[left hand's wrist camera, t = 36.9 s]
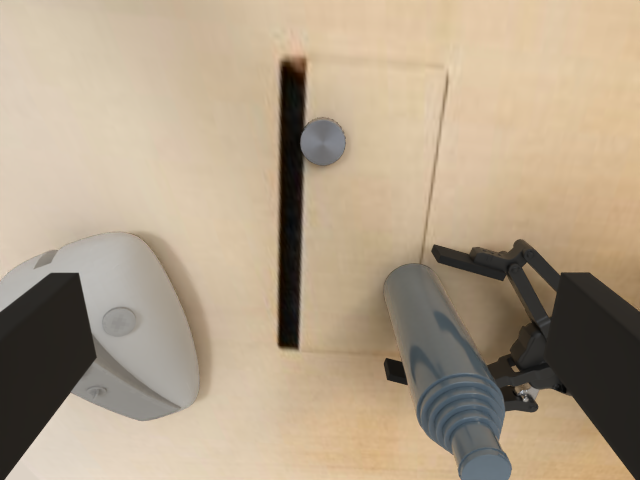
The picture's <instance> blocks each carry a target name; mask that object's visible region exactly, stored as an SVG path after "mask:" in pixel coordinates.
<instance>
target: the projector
mask: <svg viewBox="0 0 640 480" xmlns="http://www.w3.org/2000/svg"><path fill="white" fill-rule="evenodd" d="M50 273H79V276H80V280H81V285H82V290H83V294H84V299H85V304H86V309H87V313H88V318H89V323H90V327H91V332H92V337H93V341H94V346H95V351H96V356H97V358H96V359H95V361H94V362H93V363H92V365H91V366H90V367H89V369H88V370H87V371H86V373H85V374H84V375H83V377H82V378H81V379H80V381H79V382H78V383H77V384H76V386H75V387H74V388H73V390H72V391H71V393H73V394H75V395H77V396H79V397H81V398H83V399H85V400H87V401H89V402H92V403H94V404H96V405H98V406H101V407H103V408H105V409H108V410H110V411H113V412H116V413H118V414H121V415H124V416H126V417H129V418H132V419H136V420H139V421H147V420H152V419H157V418H160V417H164V416H166V415H169V414H172V413H175V412H178V411H181V410H183V409H185V408H187V407H189V406H190V405H192V404H193V403H194V401H195V399H196V397H197V395H198V392H199V386H200V376H199V366H198V359H197V354H196V349H195V345H194V341H193V337H192V333H191V330H190V327H189V324H188V321H187V318H186V316H185V313H184V310H183V308H182V306H181V303H180V301H179V299H178V296H177V294H176V292H175V290H174V288H173V286H172V284H171V282H170V280H169V278H168V276H167V274H166V272H165V270H164V268H163V267H162V265H161V263H160V261H159V260H158V258H157V257H156V255H155V254H154V252H153V251H152V250H151V248H150V247H149V246H148V245H147V244H146V243H145V242H144V241H143V240H142V239H141V238H139V237H137V236H135V235H133V234H130V233H125V232H109V233H104V234H99V235H95V236H91V237H88V238H84V239H81V240H78V241H75V242H72V243H70V244H67V245H65V246H63V247H62V248H60V249H59V250H51V251H48V252H46V253H43V254H40V255H38V256H36V257H33V258H31V259H29V260H27V261H25V262H23V263H21V264H20V265H18V266H17V267H15V268H14V269H12V270H11V271H10V272H8V273H7V274H6V275H5V276H4V277H3V278H2V280H1V281H0V312H1V311H2V310H3V309H5V308H6V307H7V306H9V305H10V304H11V303H12V302H14V301H15V300H16V299H17V298H19V297H20V296H21V295H23V294H24V293H25V292H26V291H28V290H29V289H30V288H32V287H33V286H34V285H35V284H37V283H38V282H39V281H41V280H42V279H43V278H44V277H46V276H47V275H48V274H50Z"/></svg>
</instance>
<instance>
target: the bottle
mask: <svg viewBox="0 0 640 480" xmlns="http://www.w3.org/2000/svg"><path fill="white" fill-rule="evenodd" d="M383 292H384V298H385V301H386V305H387V309H388V312H389V316H390V320H391V323H392V327H393V331H394V335H395V338H396V342H397V346H398V349H399V353H400V357H401V360H402V364H403V368H404V371H405V375H406V379H407V383H408V386H409V390H410V394H411V397H412V401H413V405H414V408H415V412H416V416H417V419H418V422H419V424H420V426H421V427H422V429H423V430H424V431H425V433H426V434H427V435H428V436H429V438H430V439H432V440H433V441H434V442H436V443H437V444H438V445H440V446H441V447H443V448H444V449H445V450H447V451H449V452H450V453H451V454H452V455H454V458H455V461H456V464H457V467H458V474H459V477H460V478H461V480H508V479H509V477H510V475H511V470H512V467H511V463H510V461H509V459H508V457H507V455H506V454H505V453H504V452H503V449H502V447H501V445H500V443H499V437H500V434H501V429H502V426H503V420H504V417H505V406H504V398H503V395H502V392H501V390H500V388H499V387H498V385H497V383H496V381H495V379H494V378H493V376H492V374H491V372H490V370H489V368H488V367H487V365H486V363H485V361H484V359H483V358H482V356H481V354H480V352H479V350H478V349H477V347H476V345H475V343H474V341H473V339H472V338H471V336H470V334H469V332H468V330H467V329H466V327H465V325H464V323H463V321H462V319H461V318H460V316H459V314H458V312H457V310H456V309H455V307H454V305H453V303H452V301H451V300H450V298H449V296H448V294H447V292H446V290H445V289H444V287H443V285H442V283H441V281H440V280H439V278H438V276H437V274H436V273H435V272H434V271H433V270H432V269H430V268H429V267H427V266H425V265H422V264H406V265H403V266H400V267H398V268H397V269H395V270H394V271H393V272H392V273H391V274H390V275H389V276H388V278H387V279H386V281H385V284H384V289H383Z"/></svg>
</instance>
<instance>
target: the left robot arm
mask: <svg viewBox="0 0 640 480" xmlns="http://www.w3.org/2000/svg"><path fill="white" fill-rule="evenodd" d="M96 358H97V356H96V351H95V346H94V341H93V337H92V332H91V327H90V323H89V318H88V313H87V309H86V304H85V299H84V294H83V290H82V285H81V280H80V276H79V273H50V274H48V275H47V276H46V277H44V278H43V279H42V280H41V281H39V282H38V283H37V284H35V285H34V286H33V287H32V288H30V289H29V290H28V291H26V292H25V293H24V294H23V295H21V296H20V297H19V298H17V299H16V300H15V301H14V302H12V303H11V304H10V305H9V306H7V307H6V308H5V309H3V310H2V311H1V312H0V480H5V478H6V477H7V476H8V474H9V473H10V472H11V470H12V469H13V468H14V466H15V465H16V464H17V462H18V461H19V460H20V458H21V457H22V456H23V454H24V453H25V452H26V451H27V449H28V448H29V447H30V445H31V444H32V443H33V441H34V440H35V439H36V437H37V436H38V435H39V433H40V432H41V431H42V429H43V428H44V427H45V425H46V424H47V423H48V421H49V420H50V419H51V417H52V416H53V415H54V414H55V412H56V411H57V410H58V408H59V407H60V406H61V404H62V403H63V402H64V400H65V399H66V398H67V396H68V395H69V394H70V392H71V391H72V390H73V388H74V387H75V386H76V384H77V383H78V382H79V381H80V379H81V378H82V377H83V375H84V374H85V373H86V371H87V370H88V369H89V367H90V366H91V365H92V363H93V362H94V361H95V359H96ZM543 358H544V359H545V361H546V362H547V363H548V365H549V366H550V367H551V369H552V370H553V371H554V373H555V374H556V375H557V377H558V378H559V379H560V381H561V382H562V383H563V384H564V386H565V387H566V388H567V390H568V391H569V392H570V394H571V395H572V396H573V398H574V399H575V400H576V402H577V403H578V404H579V406H580V407H581V408H582V410H583V411H584V412H585V414H586V415H587V416H588V417H589V419H590V420H591V421H592V423H593V424H594V425H595V427H596V428H597V429H598V431H599V432H600V433H601V435H602V436H603V437H604V439H605V440H606V441H607V443H608V444H609V445H610V447H611V448H612V449H613V451H614V452H615V453H616V454H617V456H618V457H619V458H620V460H621V461H622V462H623V464H624V465H625V466H626V468H627V469H628V470H629V472H630V473H631V474H632V476H633V477H634V478H635V480H640V312H639V311H638V310H637V309H635V308H634V307H633V306H631V305H630V304H629V303H628V302H626V301H625V300H624V299H623V298H621V297H620V296H619V295H617V294H616V293H615V292H614V291H612V290H611V289H610V288H608V287H607V286H606V285H605V284H603V283H602V282H601V281H599V280H598V279H597V278H596V277H594V276H593V275H592V274H590V273H561V276H560V280H559V285H558V290H557V294H556V299H555V304H554V309H553V313H552V318H551V323H550V327H549V332H548V337H547V341H546V346H545V351H544V356H543Z"/></svg>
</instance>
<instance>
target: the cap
mask: <svg viewBox="0 0 640 480" xmlns="http://www.w3.org/2000/svg"><path fill="white" fill-rule="evenodd" d="M300 139H301V142H300V144H301V149H302V152H303V154H304V156H305V157H306V158H307V159H308V160H309V161H310V162H312V163H314V164H317V165H329V164H332V163H334V162H335V161H337V160H338V159H339V158H340V157H341V155H342V154H343V152H344V149H345V144H346V142H345V139H346V138H345V136H344V131H343V130H342V128H341V126H339V124H338V123H336V122H335V121H334V120H333V119H329V118H323V117H322V118H317V119H314V120H312V121H311V122H308V124H307V125H306V126H305V127H304V130H303V131H302V136H301V138H300Z"/></svg>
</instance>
